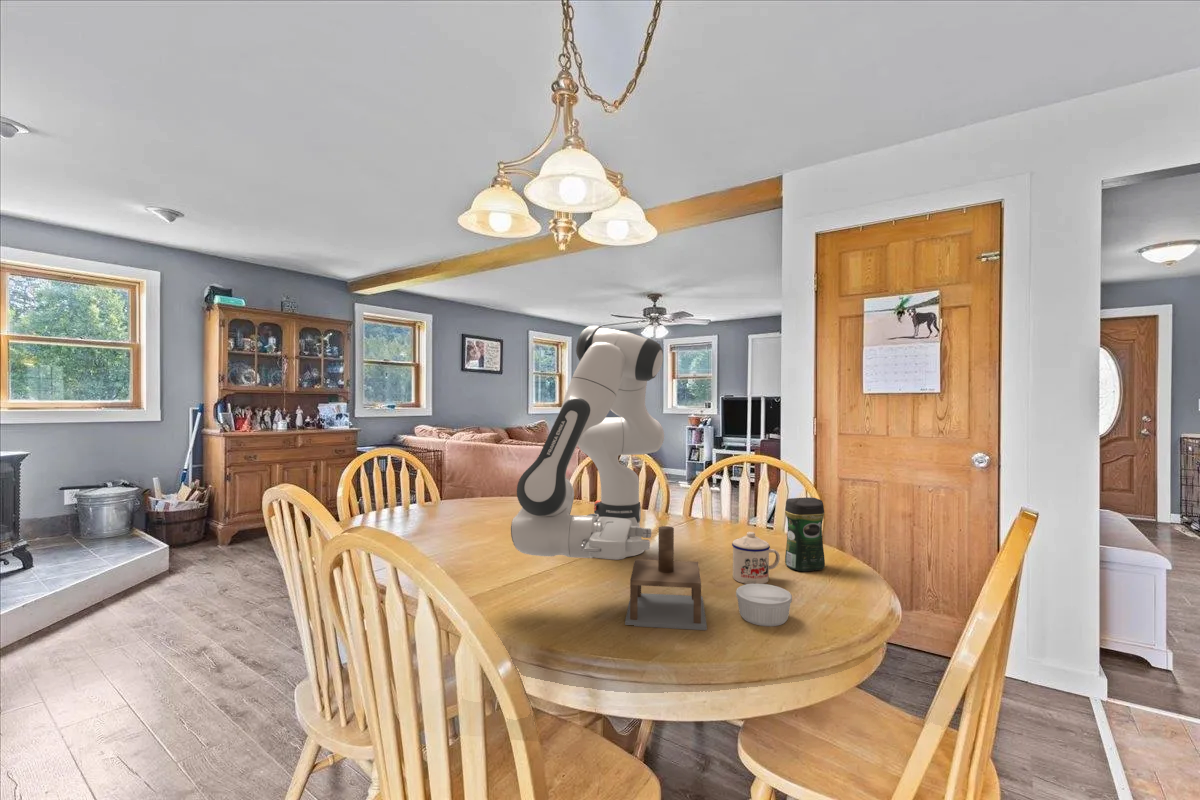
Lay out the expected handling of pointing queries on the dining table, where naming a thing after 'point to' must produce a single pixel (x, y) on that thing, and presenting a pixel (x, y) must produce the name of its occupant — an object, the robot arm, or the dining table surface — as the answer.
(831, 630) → the dining table surface
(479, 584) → the dining table surface
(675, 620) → the grey rubber mat
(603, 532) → the robot arm
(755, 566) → the teacup with lid
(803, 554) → the coffee jar
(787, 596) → the ramekin
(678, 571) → the walnut cover
